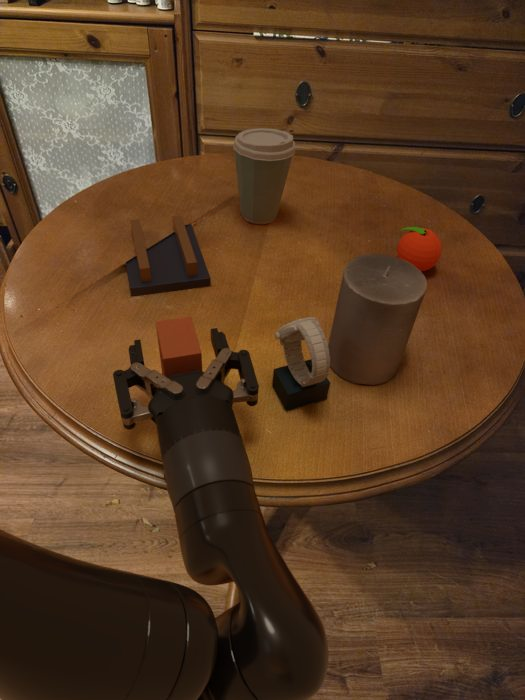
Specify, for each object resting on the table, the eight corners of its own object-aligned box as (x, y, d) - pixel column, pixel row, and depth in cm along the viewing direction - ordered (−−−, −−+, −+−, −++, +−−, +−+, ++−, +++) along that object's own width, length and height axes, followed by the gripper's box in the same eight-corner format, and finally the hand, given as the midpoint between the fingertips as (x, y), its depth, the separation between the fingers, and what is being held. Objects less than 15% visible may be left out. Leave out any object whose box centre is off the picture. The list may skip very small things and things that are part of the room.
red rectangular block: (204, 412, 59) (201, 352, 52) (170, 419, 58) (163, 359, 51) (195, 376, 63) (191, 316, 56) (163, 381, 62) (155, 321, 55)
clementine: (379, 267, 82) (389, 229, 77) (397, 249, 87) (407, 212, 82) (424, 285, 79) (438, 247, 74) (440, 266, 83) (454, 229, 78)
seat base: (210, 285, 76) (210, 264, 73) (131, 296, 73) (127, 274, 71) (191, 231, 87) (190, 211, 84) (121, 238, 84) (118, 217, 81)
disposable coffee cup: (219, 212, 92) (219, 130, 82) (263, 196, 98) (268, 117, 87) (256, 237, 87) (261, 152, 76) (300, 218, 92) (310, 137, 82)
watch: (304, 364, 65) (315, 299, 58) (333, 410, 60) (349, 344, 52) (265, 375, 64) (271, 309, 56) (291, 422, 58) (301, 357, 51)
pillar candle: (358, 326, 71) (380, 234, 61) (413, 364, 66) (448, 272, 56) (310, 355, 67) (326, 262, 56) (366, 399, 62) (395, 305, 51)
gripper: (282, 418, 44) (238, 304, 55) (118, 451, 41) (105, 323, 52) (276, 464, 49) (236, 352, 60) (130, 497, 46) (116, 372, 57)
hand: (176, 339), depth 56 cm, fingers open, 8 cm apart
